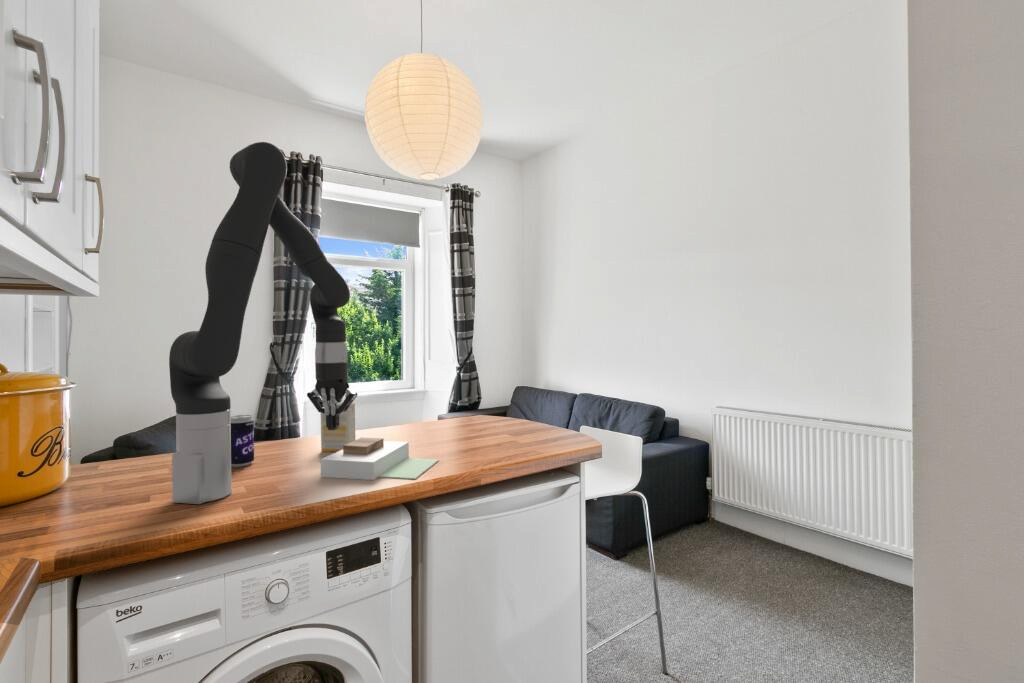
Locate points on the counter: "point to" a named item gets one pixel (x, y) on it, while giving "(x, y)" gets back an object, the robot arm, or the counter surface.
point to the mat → (409, 468)
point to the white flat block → (364, 462)
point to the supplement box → (338, 431)
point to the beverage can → (242, 440)
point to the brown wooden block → (363, 446)
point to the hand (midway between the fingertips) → (333, 429)
